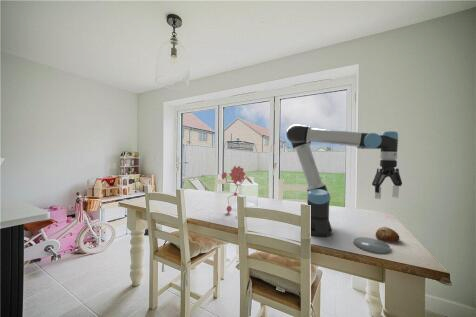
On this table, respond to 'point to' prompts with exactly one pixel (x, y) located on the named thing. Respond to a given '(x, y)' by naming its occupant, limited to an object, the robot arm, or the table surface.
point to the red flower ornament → (235, 180)
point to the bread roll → (387, 235)
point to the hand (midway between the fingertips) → (386, 197)
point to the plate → (371, 245)
